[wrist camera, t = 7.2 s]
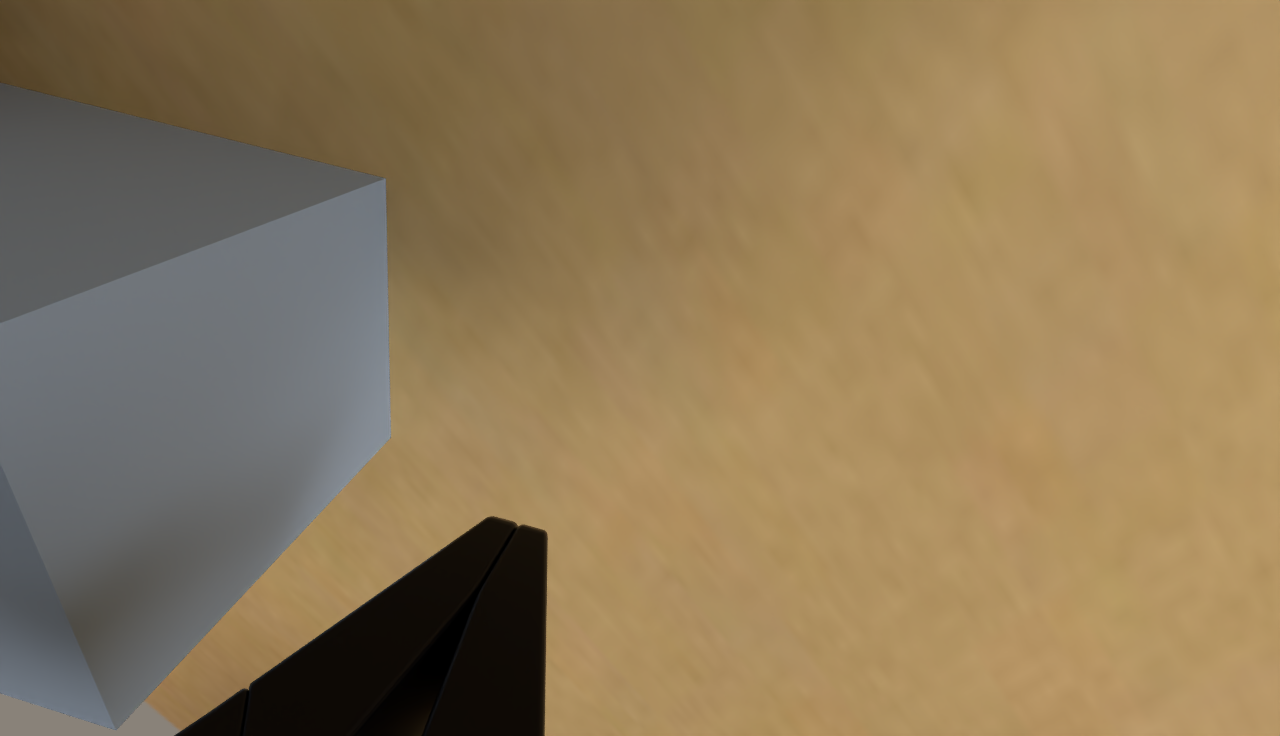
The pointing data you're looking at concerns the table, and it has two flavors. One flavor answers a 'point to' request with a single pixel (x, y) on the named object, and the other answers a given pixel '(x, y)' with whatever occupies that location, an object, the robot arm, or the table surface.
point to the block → (168, 384)
